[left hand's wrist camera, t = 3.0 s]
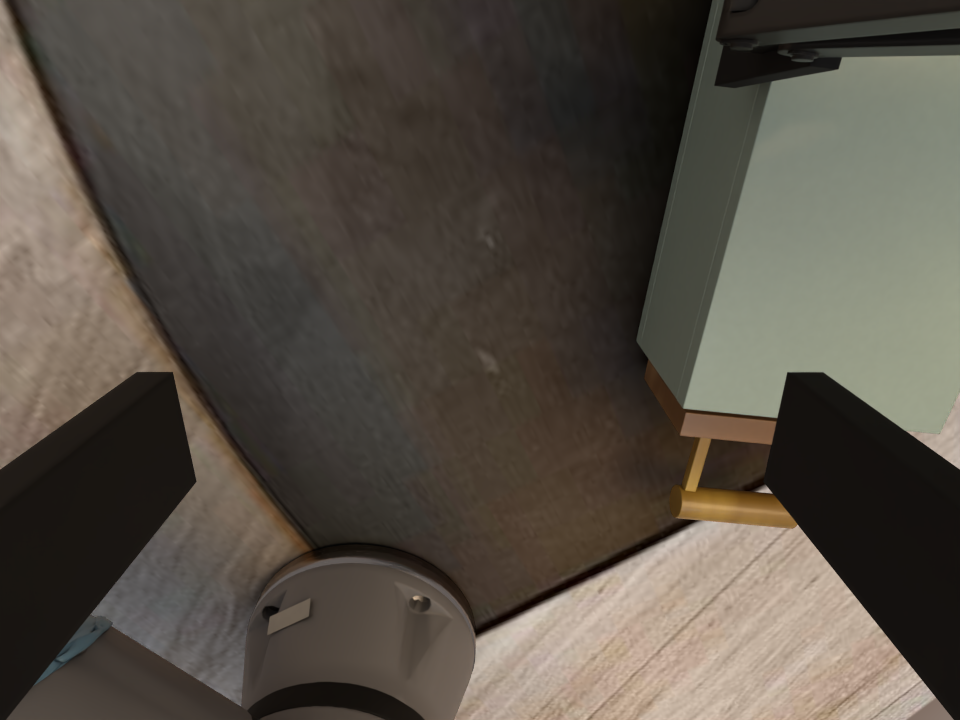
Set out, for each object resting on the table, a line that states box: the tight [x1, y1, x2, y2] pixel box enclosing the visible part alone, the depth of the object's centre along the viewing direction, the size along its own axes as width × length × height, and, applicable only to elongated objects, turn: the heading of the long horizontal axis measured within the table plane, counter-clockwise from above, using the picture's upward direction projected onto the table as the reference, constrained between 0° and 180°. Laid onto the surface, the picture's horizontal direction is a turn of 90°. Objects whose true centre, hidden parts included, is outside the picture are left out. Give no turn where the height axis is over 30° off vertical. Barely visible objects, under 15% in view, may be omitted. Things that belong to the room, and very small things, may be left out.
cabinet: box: [636, 0, 960, 434], centre depth 25 cm, size 18×11×8 cm, turn 174°
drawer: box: [644, 360, 798, 528], centre depth 27 cm, size 23×10×6 cm, turn 174°
